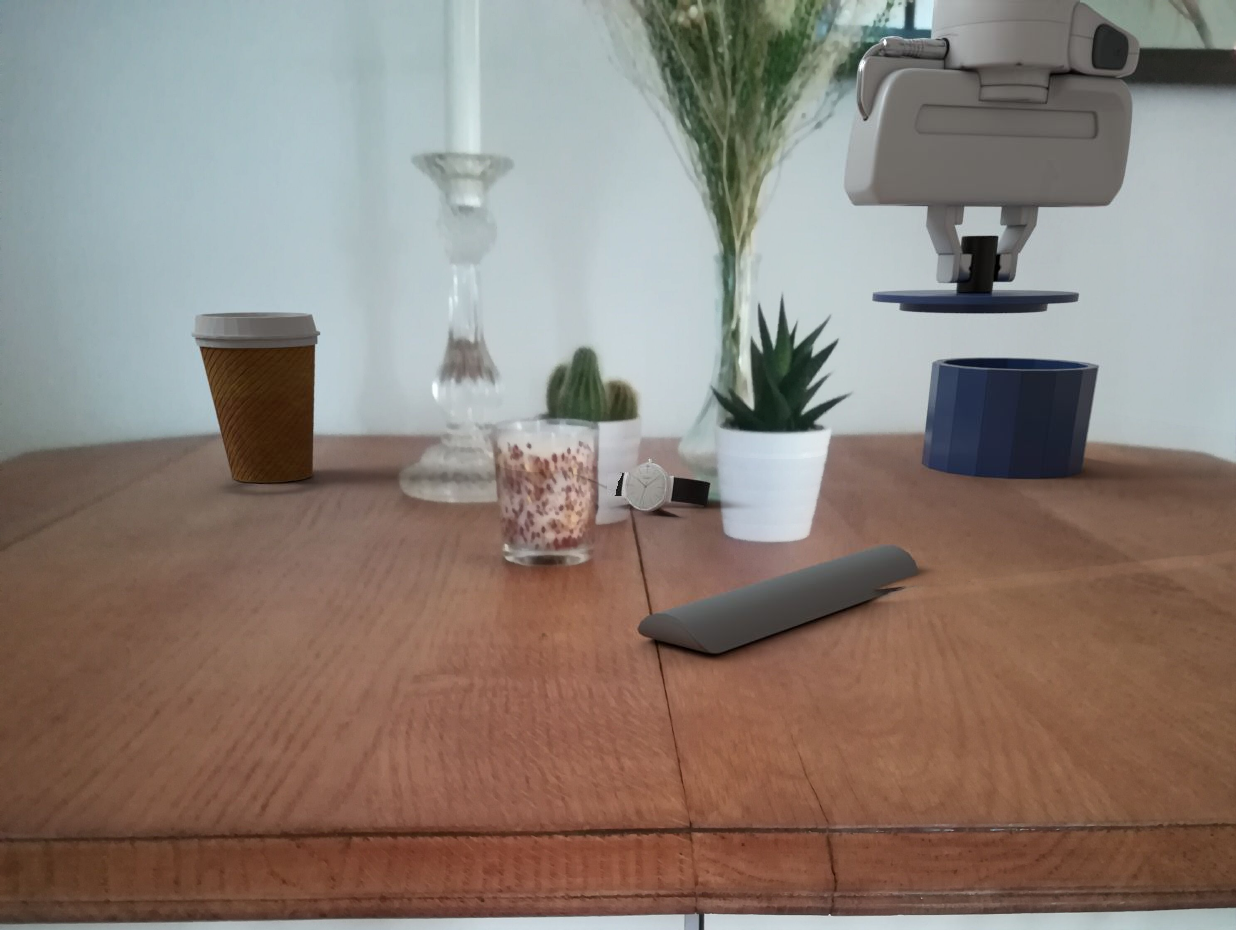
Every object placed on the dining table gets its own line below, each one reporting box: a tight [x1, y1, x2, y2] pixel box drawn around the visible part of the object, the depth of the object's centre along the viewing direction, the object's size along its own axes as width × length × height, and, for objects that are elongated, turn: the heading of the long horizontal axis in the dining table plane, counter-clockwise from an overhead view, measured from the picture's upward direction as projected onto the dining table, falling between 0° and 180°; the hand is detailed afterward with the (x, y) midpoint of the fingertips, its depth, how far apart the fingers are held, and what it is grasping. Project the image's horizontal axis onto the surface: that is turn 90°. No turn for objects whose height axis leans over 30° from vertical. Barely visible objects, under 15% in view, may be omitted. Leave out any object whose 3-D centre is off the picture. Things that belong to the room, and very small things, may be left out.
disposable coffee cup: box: [190, 311, 321, 484], centre depth 95 cm, size 10×10×12 cm
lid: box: [871, 235, 1080, 315], centre depth 83 cm, size 14×14×5 cm
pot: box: [921, 356, 1100, 480], centre depth 99 cm, size 13×13×8 cm
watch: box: [615, 458, 711, 513], centre depth 85 cm, size 8×5×4 cm, turn 63°
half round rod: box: [637, 544, 919, 654], centre depth 61 cm, size 4×20×2 cm, turn 138°
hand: (975, 282), depth 83 cm, fingers closed on lid, 2 cm apart
